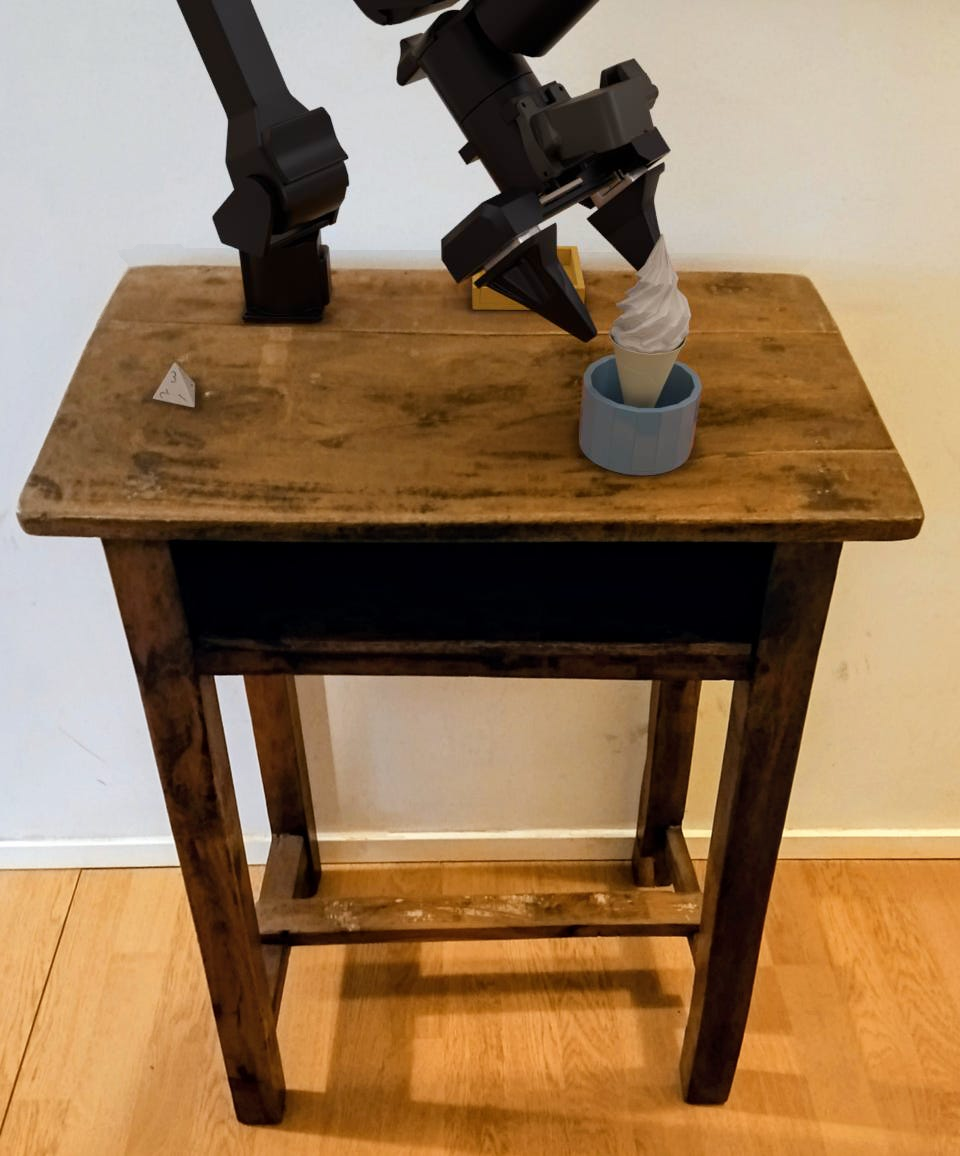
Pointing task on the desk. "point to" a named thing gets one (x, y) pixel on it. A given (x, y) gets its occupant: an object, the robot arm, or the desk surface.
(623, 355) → the ice cream cone
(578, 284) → the tray
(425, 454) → the desk surface
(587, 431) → the cup
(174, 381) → the tetrahedral die
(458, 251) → the robot arm
